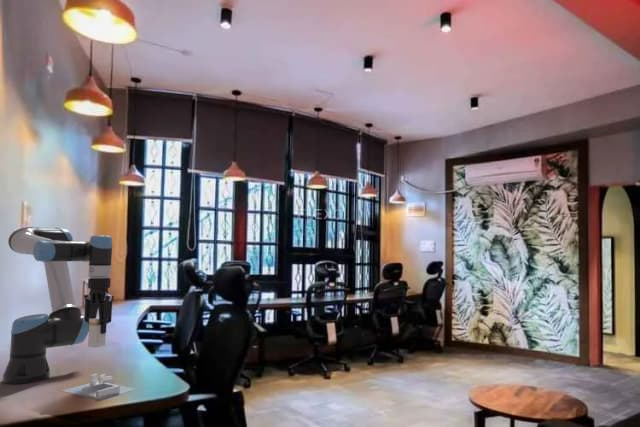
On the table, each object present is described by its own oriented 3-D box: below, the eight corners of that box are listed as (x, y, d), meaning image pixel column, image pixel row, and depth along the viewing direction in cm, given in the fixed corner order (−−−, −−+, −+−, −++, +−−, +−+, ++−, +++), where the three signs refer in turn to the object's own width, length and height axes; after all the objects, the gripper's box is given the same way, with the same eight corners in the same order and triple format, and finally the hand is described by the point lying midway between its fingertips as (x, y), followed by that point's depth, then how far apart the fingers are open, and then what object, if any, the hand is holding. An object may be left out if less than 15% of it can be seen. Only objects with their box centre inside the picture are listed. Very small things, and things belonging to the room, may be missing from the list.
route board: (60, 394, 157) (60, 390, 157) (97, 384, 169) (97, 381, 170) (99, 403, 148) (100, 399, 148) (136, 392, 160) (136, 389, 160)
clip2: (101, 386, 162) (101, 377, 163) (110, 385, 164) (111, 376, 164) (102, 389, 159) (103, 379, 159) (112, 388, 160) (112, 378, 161)
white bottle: (87, 346, 169) (89, 318, 171) (97, 344, 173) (98, 317, 174) (95, 347, 168) (96, 319, 169) (105, 345, 171) (106, 317, 172)
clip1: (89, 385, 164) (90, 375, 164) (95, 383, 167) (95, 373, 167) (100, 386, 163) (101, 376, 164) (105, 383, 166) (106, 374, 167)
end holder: (81, 395, 152) (82, 387, 152) (103, 389, 159) (103, 382, 159) (98, 399, 148) (98, 391, 149) (119, 393, 155) (119, 385, 156)
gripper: (75, 277, 173) (71, 342, 171) (106, 278, 166) (103, 345, 163) (93, 276, 180) (90, 339, 178) (124, 277, 172) (121, 342, 170)
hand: (96, 342), depth 170 cm, fingers closed on white bottle, 4 cm apart
